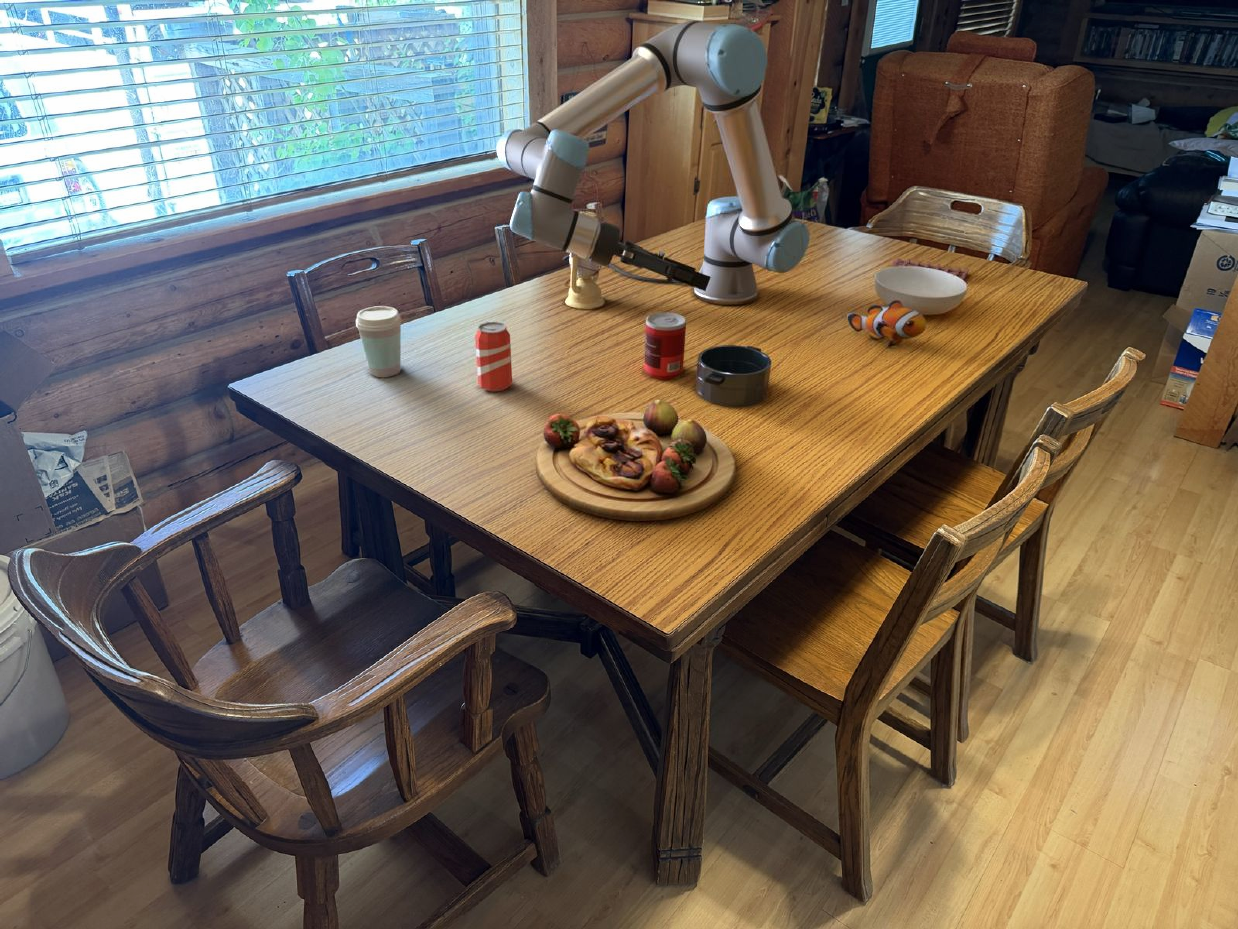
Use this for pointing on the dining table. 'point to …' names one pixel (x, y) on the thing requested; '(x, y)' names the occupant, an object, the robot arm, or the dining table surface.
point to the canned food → (664, 345)
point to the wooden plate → (634, 464)
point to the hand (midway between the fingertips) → (700, 279)
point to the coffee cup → (381, 339)
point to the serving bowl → (920, 288)
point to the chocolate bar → (932, 267)
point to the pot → (734, 375)
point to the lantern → (584, 278)
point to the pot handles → (719, 379)
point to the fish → (889, 322)
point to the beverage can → (493, 356)
